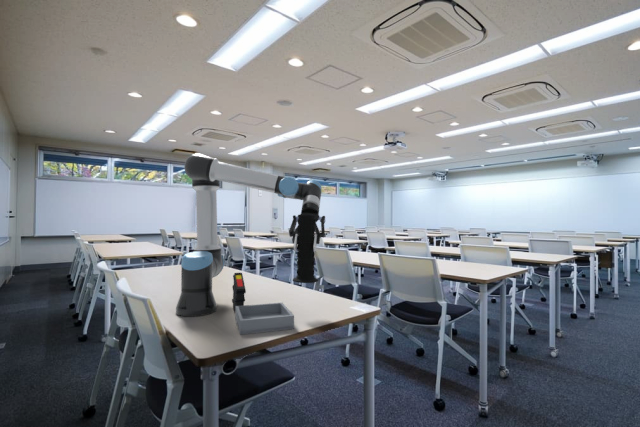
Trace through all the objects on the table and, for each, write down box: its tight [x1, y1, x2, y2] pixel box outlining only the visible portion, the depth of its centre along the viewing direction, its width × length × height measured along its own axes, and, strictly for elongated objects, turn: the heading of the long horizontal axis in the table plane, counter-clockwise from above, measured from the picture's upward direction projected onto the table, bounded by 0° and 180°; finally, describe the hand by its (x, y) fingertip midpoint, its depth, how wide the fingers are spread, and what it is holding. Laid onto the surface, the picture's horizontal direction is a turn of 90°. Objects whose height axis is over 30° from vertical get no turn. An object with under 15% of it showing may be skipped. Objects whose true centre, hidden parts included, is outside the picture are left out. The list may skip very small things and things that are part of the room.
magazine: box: [231, 272, 247, 312], centre depth 130 cm, size 4×13×15 cm, turn 21°
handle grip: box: [292, 213, 319, 284], centre depth 124 cm, size 10×26×10 cm
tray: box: [234, 302, 295, 335], centre depth 114 cm, size 18×18×4 cm
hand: (304, 249), depth 121 cm, fingers closed on handle grip, 7 cm apart
